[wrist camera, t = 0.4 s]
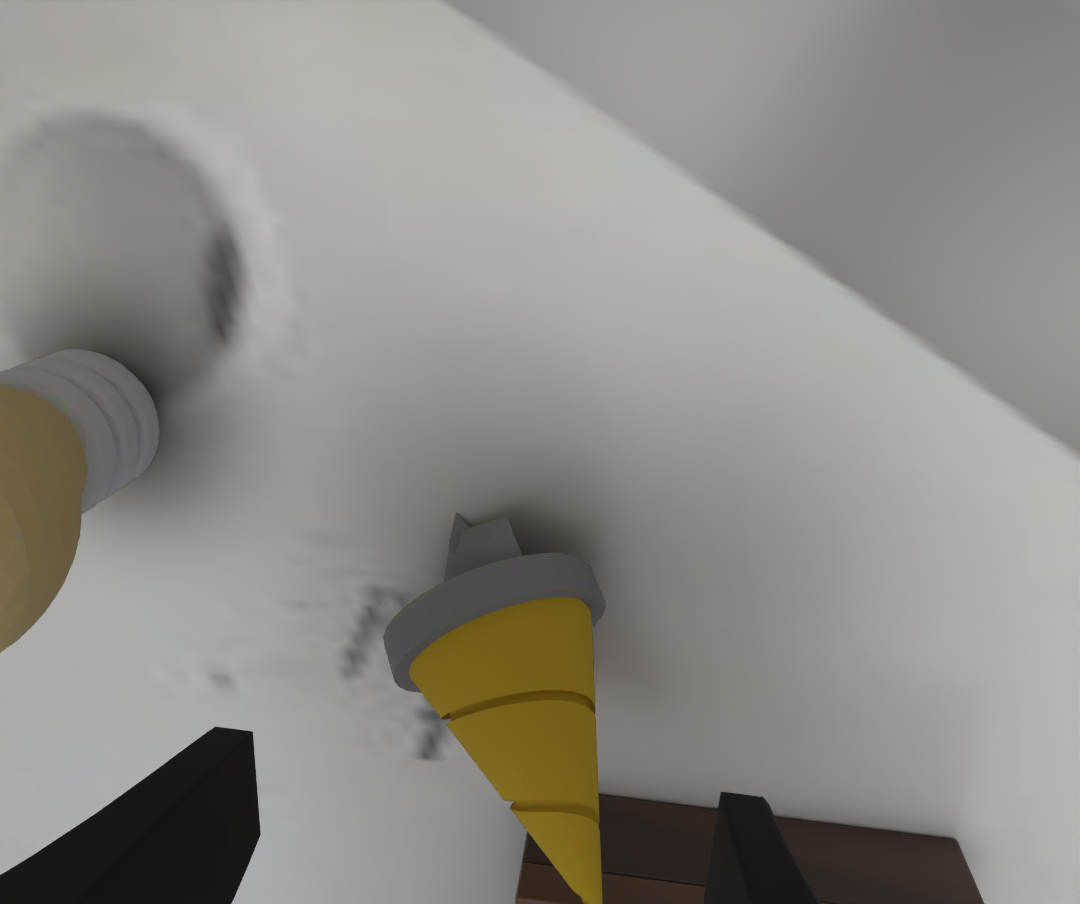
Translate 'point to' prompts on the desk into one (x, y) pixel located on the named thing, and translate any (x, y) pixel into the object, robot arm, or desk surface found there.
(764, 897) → the robot arm
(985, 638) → the desk surface
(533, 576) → the yellow stepped cone
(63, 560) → the light bulb
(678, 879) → the desk riser
